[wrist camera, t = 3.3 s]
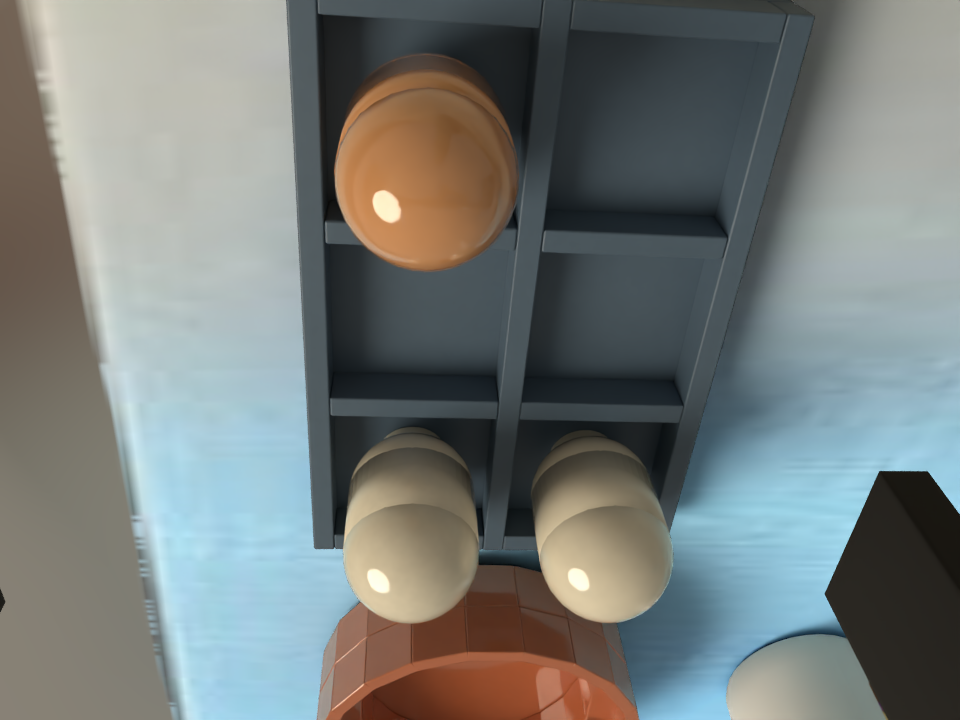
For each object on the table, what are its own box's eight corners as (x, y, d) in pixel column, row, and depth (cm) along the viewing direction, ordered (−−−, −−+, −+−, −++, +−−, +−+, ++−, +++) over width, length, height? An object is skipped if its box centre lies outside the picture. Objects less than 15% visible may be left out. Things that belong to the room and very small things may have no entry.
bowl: (531, 509, 36) (546, 604, 32) (665, 677, 43) (691, 772, 39) (263, 634, 39) (245, 735, 35) (428, 770, 47) (430, 866, 42)
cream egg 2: (608, 390, 32) (654, 537, 26) (657, 466, 34) (710, 618, 28) (502, 442, 33) (522, 595, 27) (557, 512, 35) (587, 668, 29)
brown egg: (449, -1, 24) (462, 78, 18) (529, 135, 26) (564, 247, 20) (316, 87, 25) (283, 190, 19) (403, 209, 27) (400, 337, 21)
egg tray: (790, -1, 25) (816, 15, 23) (653, 516, 36) (664, 551, 35) (294, -35, 23) (284, -20, 22) (318, 513, 35) (313, 549, 33)
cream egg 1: (430, 386, 31) (433, 536, 25) (492, 464, 34) (509, 619, 27) (328, 439, 32) (308, 595, 26) (396, 511, 35) (391, 670, 29)
